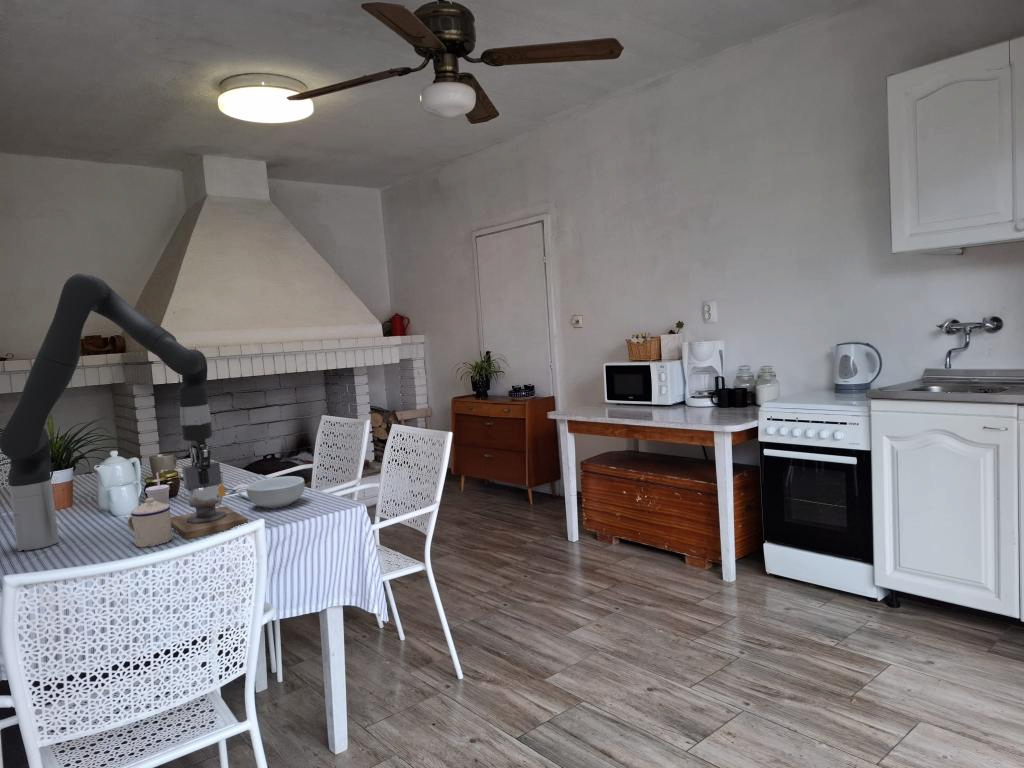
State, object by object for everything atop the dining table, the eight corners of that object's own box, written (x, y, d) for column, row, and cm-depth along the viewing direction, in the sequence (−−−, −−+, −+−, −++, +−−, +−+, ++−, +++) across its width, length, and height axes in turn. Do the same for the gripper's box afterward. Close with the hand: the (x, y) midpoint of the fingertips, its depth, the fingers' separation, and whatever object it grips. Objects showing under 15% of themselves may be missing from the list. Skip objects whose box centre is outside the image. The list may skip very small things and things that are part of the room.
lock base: (185, 539, 181) (183, 517, 181) (168, 525, 197) (165, 504, 196) (248, 525, 191) (245, 504, 191) (226, 512, 207) (224, 493, 206)
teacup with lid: (181, 536, 185) (176, 493, 183) (156, 548, 176) (150, 503, 175) (144, 536, 188) (138, 494, 186) (117, 547, 179) (111, 503, 178)
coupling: (191, 509, 188) (187, 469, 187) (184, 504, 194) (179, 465, 193) (229, 501, 194) (225, 462, 193) (221, 497, 200) (216, 459, 199)
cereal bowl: (236, 512, 207) (233, 488, 206) (271, 497, 223) (269, 475, 222) (284, 513, 202) (281, 489, 201) (317, 498, 217) (315, 476, 217)
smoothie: (163, 522, 200) (157, 475, 199) (143, 522, 202) (138, 475, 200) (177, 516, 207) (172, 470, 205) (159, 516, 208) (153, 470, 207)
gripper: (175, 421, 195) (182, 482, 196) (188, 425, 184) (195, 489, 185) (203, 418, 199) (210, 477, 201) (217, 421, 188) (224, 484, 190)
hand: (202, 482), depth 193 cm, fingers closed on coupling, 3 cm apart
